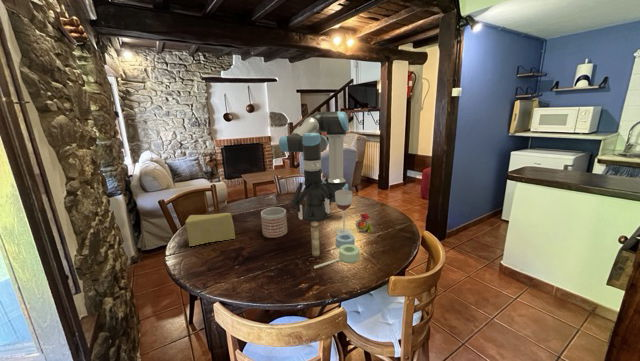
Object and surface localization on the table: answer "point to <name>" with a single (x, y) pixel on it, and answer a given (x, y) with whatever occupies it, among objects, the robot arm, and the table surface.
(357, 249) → the bead
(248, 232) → the table surface
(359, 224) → the red green lumpy piece
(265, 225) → the planter
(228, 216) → the cheese
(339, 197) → the wineglass
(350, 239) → the blue bead
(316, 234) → the wooden dowel
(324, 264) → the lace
